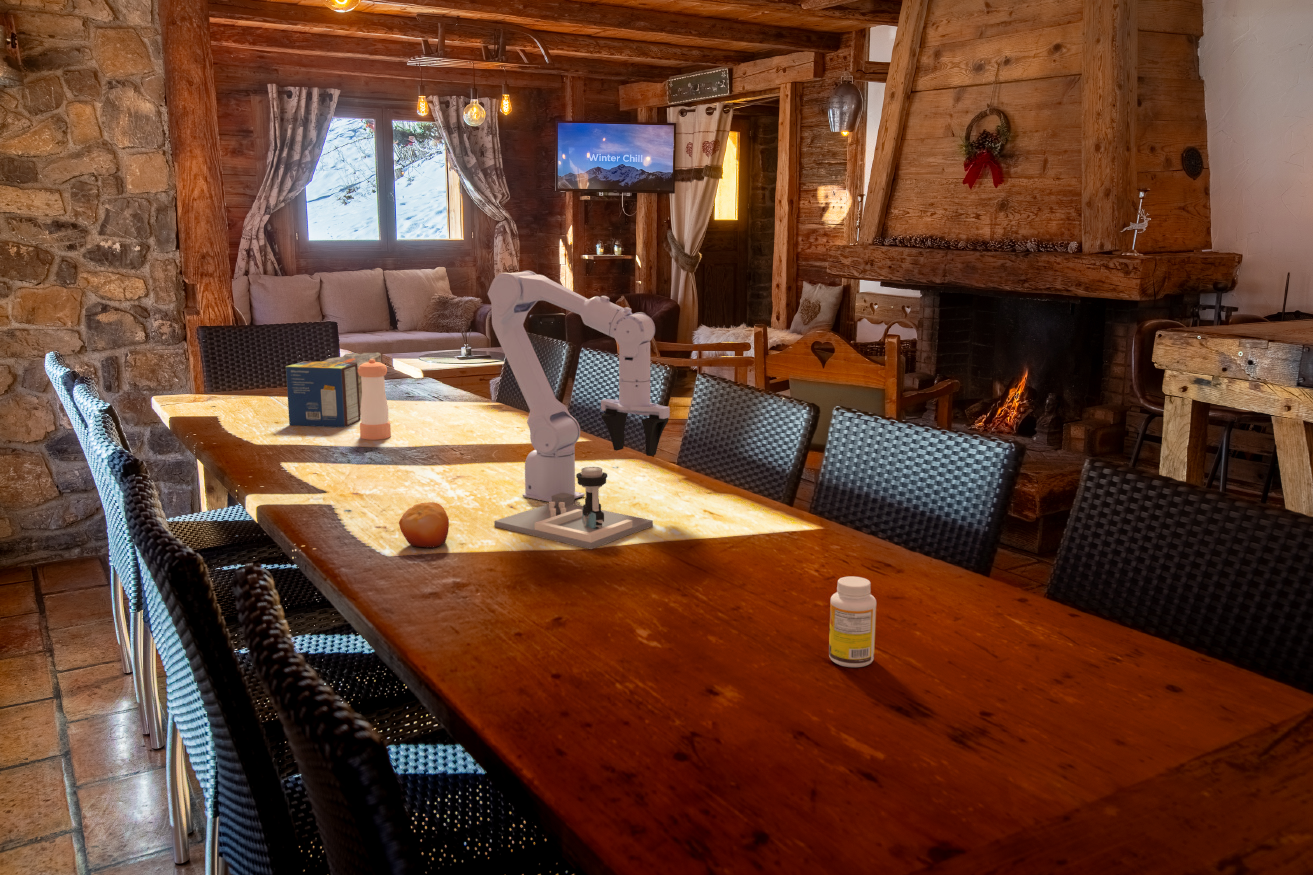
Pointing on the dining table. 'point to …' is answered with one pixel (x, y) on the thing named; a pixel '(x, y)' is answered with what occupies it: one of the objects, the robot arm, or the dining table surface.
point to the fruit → (425, 525)
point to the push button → (592, 495)
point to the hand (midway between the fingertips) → (634, 452)
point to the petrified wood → (360, 360)
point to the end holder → (552, 527)
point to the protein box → (323, 394)
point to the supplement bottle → (852, 623)
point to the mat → (570, 525)
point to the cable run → (560, 503)
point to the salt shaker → (373, 402)
